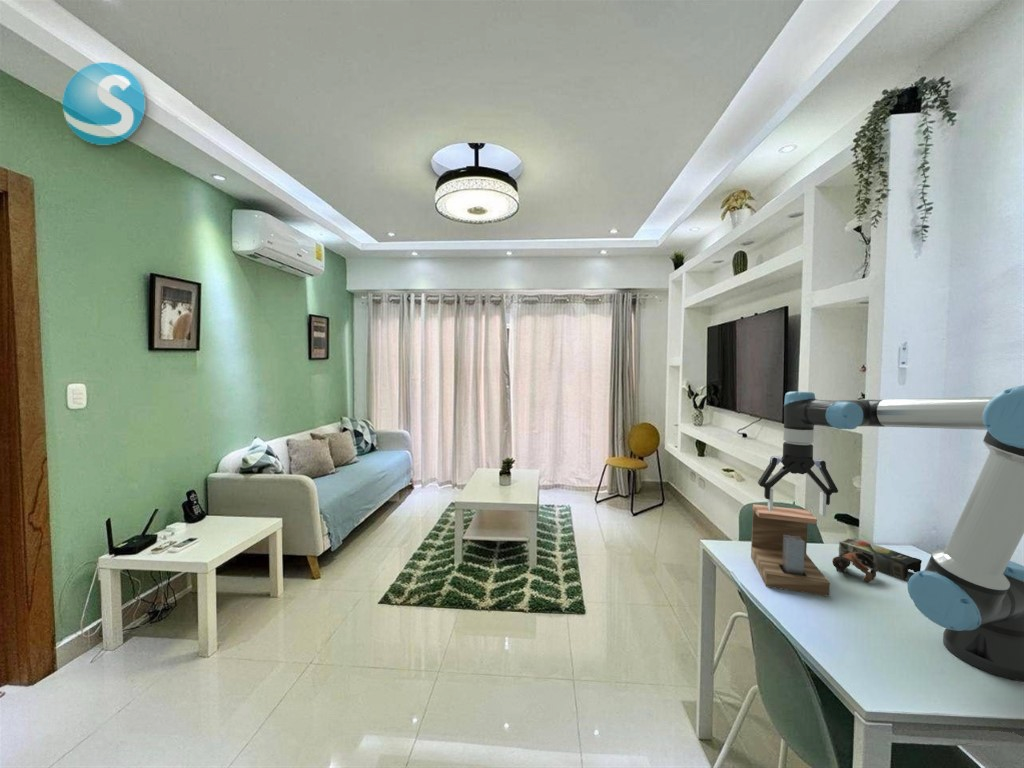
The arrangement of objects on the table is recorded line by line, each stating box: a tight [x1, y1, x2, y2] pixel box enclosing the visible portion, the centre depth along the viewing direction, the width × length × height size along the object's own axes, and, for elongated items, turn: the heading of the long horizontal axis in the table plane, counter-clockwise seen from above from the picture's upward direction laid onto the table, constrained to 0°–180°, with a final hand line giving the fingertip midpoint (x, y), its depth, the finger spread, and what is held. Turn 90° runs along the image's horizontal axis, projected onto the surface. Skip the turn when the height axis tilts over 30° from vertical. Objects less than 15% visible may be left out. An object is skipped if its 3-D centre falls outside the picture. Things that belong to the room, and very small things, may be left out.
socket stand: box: [750, 503, 831, 597], centre depth 133 cm, size 21×16×18 cm
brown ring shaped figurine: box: [832, 552, 879, 583], centre depth 133 cm, size 12×10×8 cm
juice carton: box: [837, 537, 923, 582], centre depth 141 cm, size 20×10×6 cm, turn 23°
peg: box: [782, 535, 805, 576], centre depth 128 cm, size 4×4×14 cm
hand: (795, 512), depth 127 cm, fingers open, 13 cm apart
